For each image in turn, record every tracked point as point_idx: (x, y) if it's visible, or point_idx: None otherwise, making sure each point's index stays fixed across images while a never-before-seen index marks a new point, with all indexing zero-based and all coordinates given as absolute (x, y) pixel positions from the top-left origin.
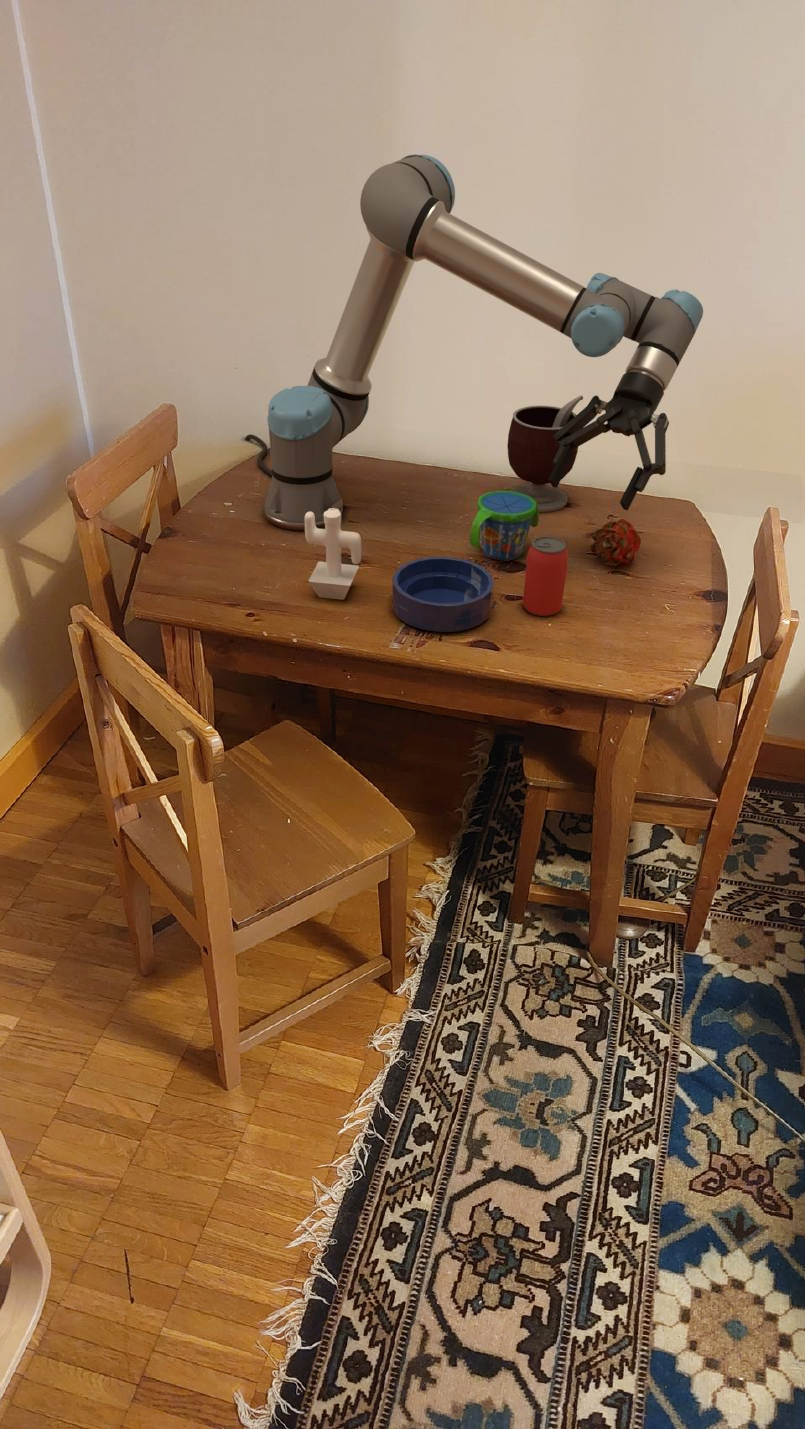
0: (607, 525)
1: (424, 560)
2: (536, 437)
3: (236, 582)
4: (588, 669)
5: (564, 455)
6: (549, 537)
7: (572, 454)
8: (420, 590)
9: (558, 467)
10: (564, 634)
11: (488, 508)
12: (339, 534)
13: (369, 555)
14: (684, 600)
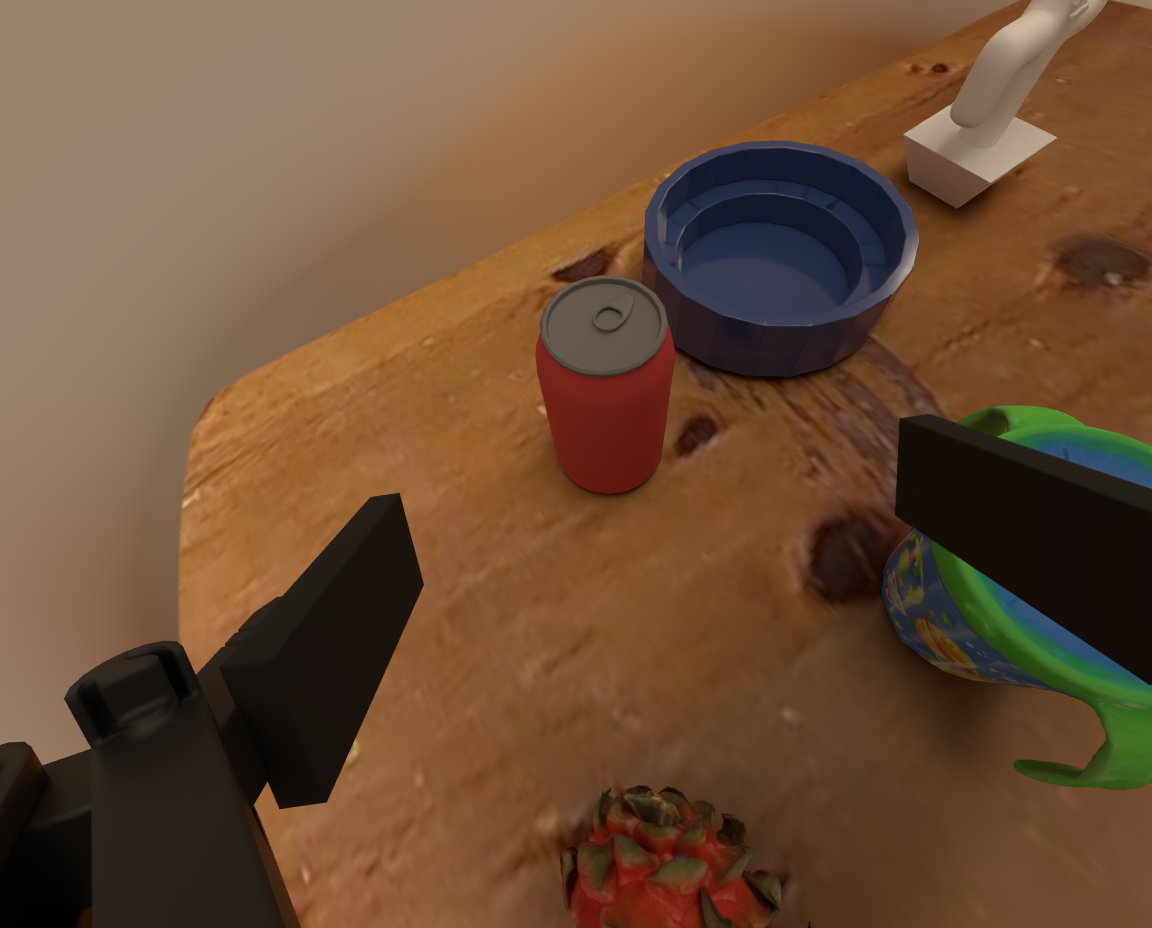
0: (734, 925)
1: (903, 247)
2: None
3: (1085, 89)
4: (374, 350)
5: (1081, 486)
6: (640, 356)
7: (1142, 656)
8: (848, 283)
9: (977, 446)
10: (490, 406)
11: (1076, 447)
12: (1031, 10)
13: (1111, 312)
14: (315, 835)
